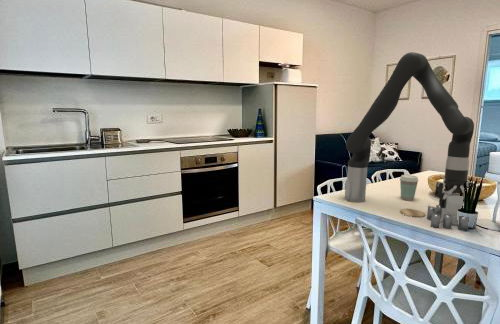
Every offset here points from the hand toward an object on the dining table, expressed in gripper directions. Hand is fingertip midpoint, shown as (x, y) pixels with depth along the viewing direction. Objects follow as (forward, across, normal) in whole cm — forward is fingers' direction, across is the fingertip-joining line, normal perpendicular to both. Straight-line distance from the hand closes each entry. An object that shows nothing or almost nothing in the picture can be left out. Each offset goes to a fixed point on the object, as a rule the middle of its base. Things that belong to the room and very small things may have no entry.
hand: (452, 207), depth 125 cm
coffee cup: (+6, +1, +34) cm, 35 cm away
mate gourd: (+7, +12, +20) cm, 24 cm away
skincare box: (+7, 0, 0) cm, 7 cm away
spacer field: (+7, 0, 0) cm, 7 cm away
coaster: (+6, -9, +12) cm, 17 cm away
